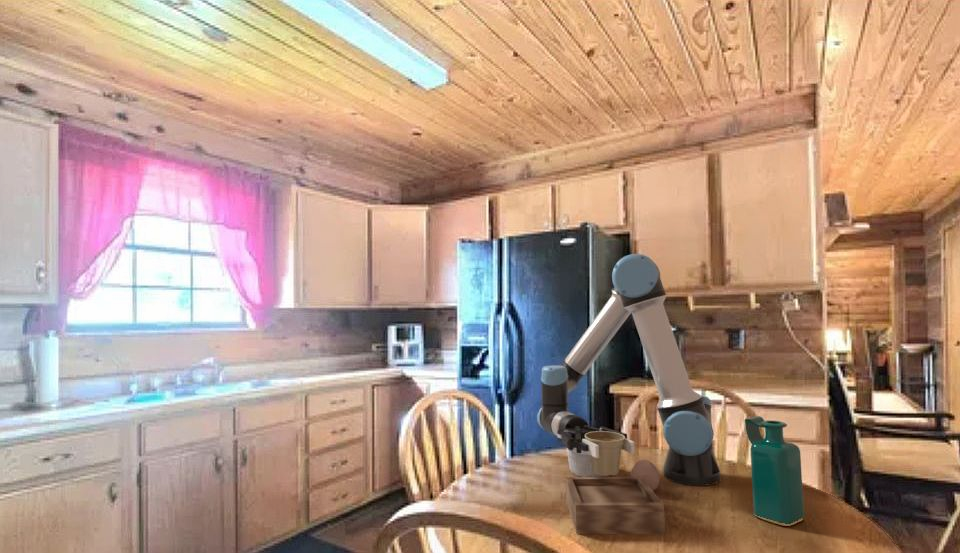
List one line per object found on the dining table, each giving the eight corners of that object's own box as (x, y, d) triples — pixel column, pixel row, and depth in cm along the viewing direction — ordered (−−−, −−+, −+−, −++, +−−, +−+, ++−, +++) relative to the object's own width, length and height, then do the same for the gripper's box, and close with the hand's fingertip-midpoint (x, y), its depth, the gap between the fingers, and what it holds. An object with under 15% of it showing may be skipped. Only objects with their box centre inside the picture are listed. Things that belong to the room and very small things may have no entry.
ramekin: (605, 465, 164) (605, 442, 164) (618, 479, 151) (617, 454, 151) (563, 466, 163) (562, 443, 164) (572, 480, 150) (571, 455, 151)
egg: (656, 499, 135) (654, 465, 135) (628, 494, 139) (626, 461, 139) (663, 490, 141) (661, 458, 141) (636, 485, 145) (635, 454, 145)
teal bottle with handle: (807, 520, 120) (802, 421, 121) (787, 529, 115) (782, 426, 116) (765, 507, 128) (760, 414, 129) (744, 515, 123) (740, 419, 125)
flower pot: (627, 480, 121) (626, 441, 121) (585, 477, 123) (584, 439, 123) (624, 467, 130) (623, 431, 130) (585, 465, 132) (584, 430, 132)
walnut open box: (642, 503, 133) (641, 476, 134) (665, 535, 114) (663, 504, 115) (566, 503, 134) (565, 477, 134) (576, 535, 115) (575, 505, 116)
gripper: (605, 438, 147) (655, 461, 125) (534, 445, 140) (573, 471, 119) (605, 411, 147) (654, 429, 126) (533, 417, 141) (573, 437, 119)
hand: (615, 449), depth 122 cm, fingers closed on flower pot, 9 cm apart
